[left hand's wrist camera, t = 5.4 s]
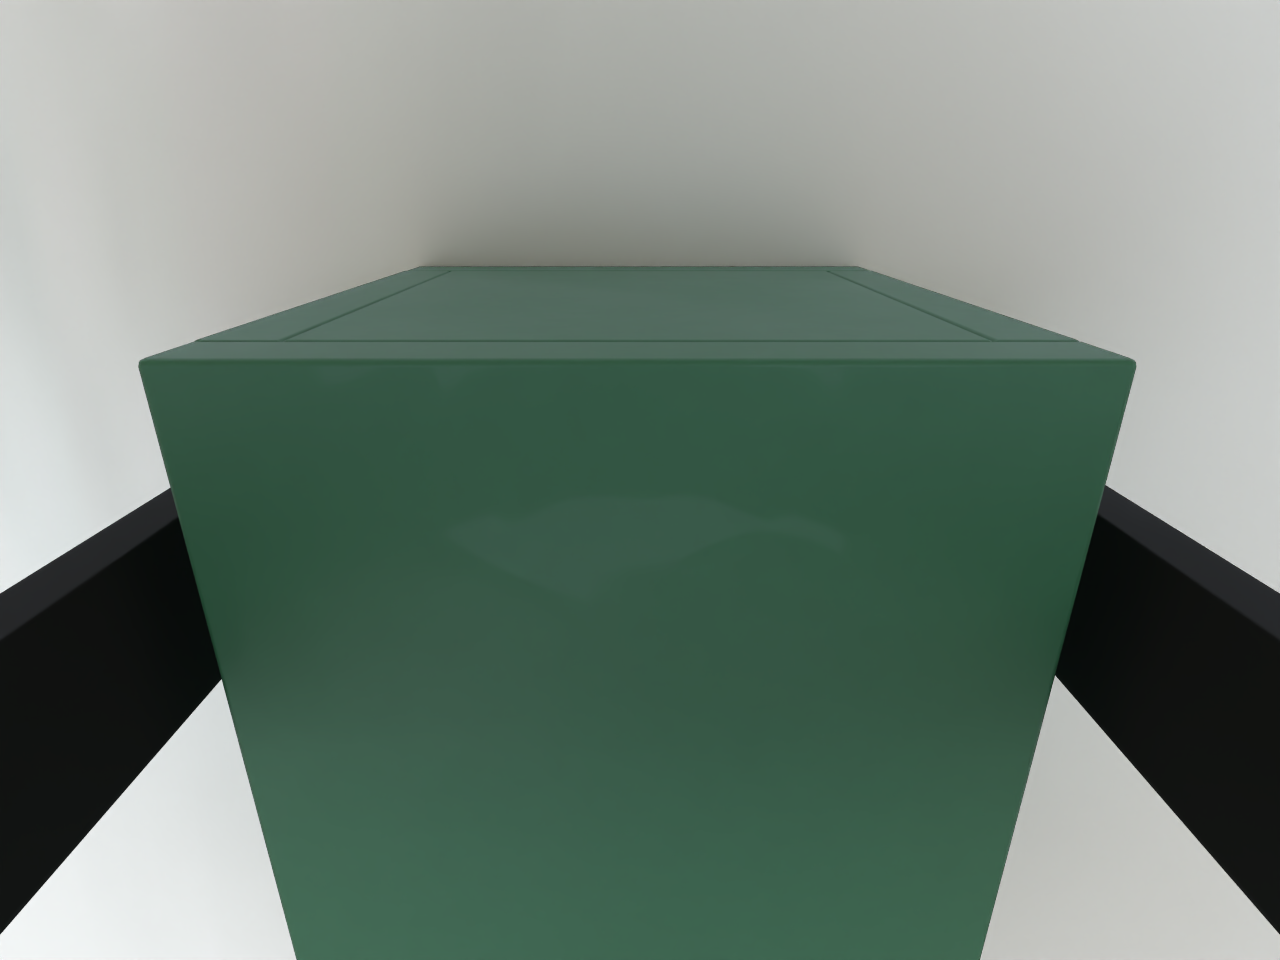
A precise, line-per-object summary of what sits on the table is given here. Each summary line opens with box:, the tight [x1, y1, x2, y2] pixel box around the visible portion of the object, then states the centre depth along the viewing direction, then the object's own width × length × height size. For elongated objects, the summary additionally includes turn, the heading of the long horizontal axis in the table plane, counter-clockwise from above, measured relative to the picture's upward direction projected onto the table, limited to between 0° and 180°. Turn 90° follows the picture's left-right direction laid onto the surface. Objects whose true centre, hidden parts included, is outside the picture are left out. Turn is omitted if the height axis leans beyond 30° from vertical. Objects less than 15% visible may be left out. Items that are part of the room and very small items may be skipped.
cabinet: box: [139, 267, 1136, 960], centre depth 16 cm, size 19×10×10 cm, turn 0°
